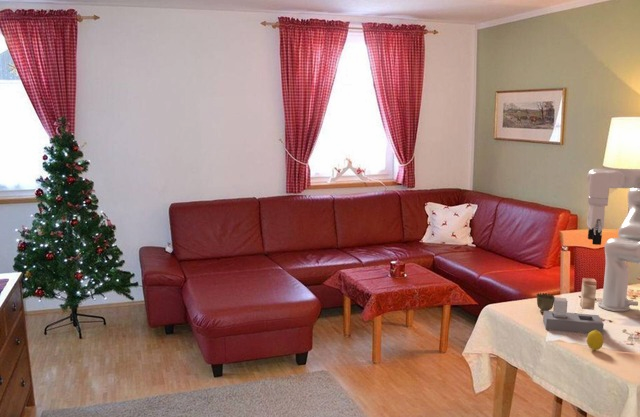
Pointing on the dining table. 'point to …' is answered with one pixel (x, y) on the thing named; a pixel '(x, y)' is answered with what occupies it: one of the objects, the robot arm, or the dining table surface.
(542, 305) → the cup
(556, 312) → the metal plug
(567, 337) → the dining table surface
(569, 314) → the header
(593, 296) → the birch plug
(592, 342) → the lemon
